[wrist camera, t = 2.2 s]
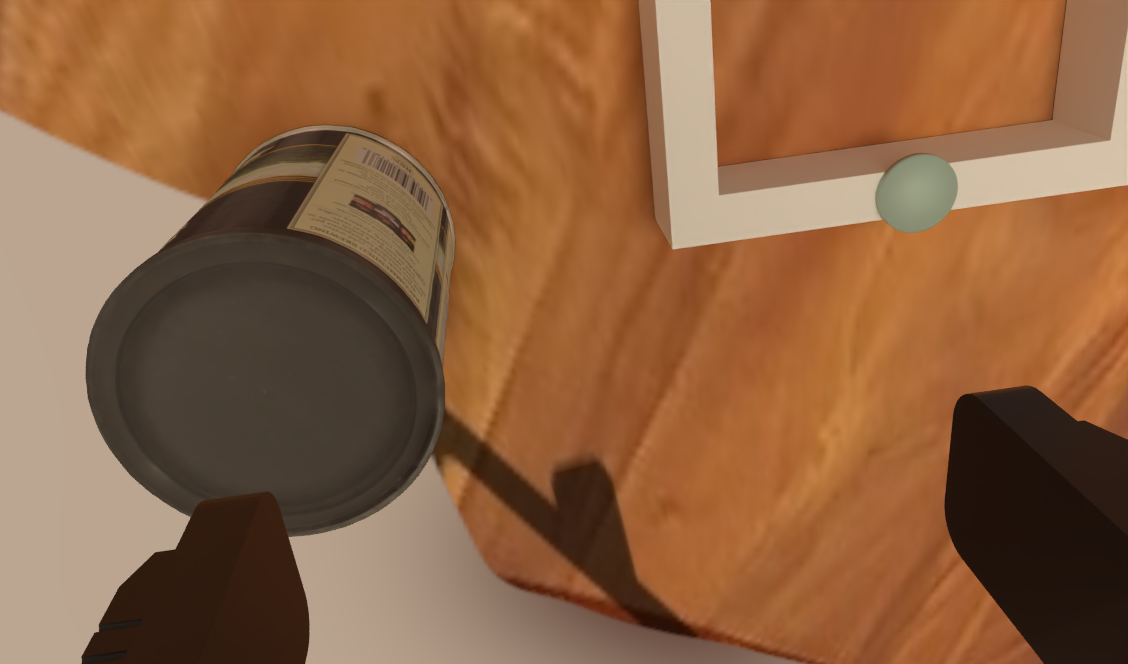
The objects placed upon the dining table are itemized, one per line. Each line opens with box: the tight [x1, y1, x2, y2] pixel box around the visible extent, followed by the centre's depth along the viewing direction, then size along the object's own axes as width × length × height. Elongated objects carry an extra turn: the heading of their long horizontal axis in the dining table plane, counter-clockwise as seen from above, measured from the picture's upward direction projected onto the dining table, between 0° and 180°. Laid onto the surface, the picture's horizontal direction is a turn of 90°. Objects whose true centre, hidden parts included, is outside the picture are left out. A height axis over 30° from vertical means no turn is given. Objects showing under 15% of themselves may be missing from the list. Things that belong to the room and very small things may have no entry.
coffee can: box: [86, 125, 455, 537], centre depth 32 cm, size 10×10×14 cm
